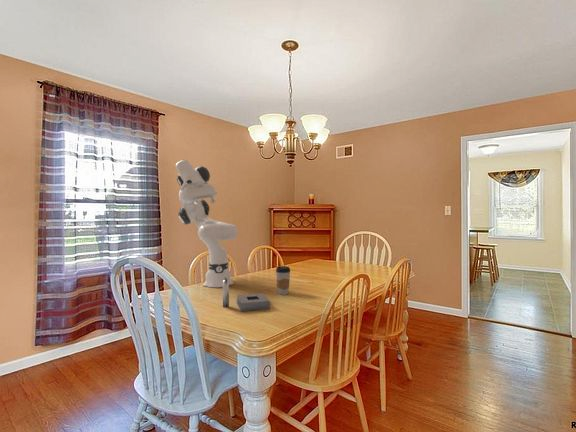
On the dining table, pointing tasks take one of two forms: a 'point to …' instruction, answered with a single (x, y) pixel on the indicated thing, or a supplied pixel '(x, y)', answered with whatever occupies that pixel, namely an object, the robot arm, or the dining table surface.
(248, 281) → the dining table surface
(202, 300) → the dining table surface
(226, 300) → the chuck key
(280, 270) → the coffee cup
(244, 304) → the block
